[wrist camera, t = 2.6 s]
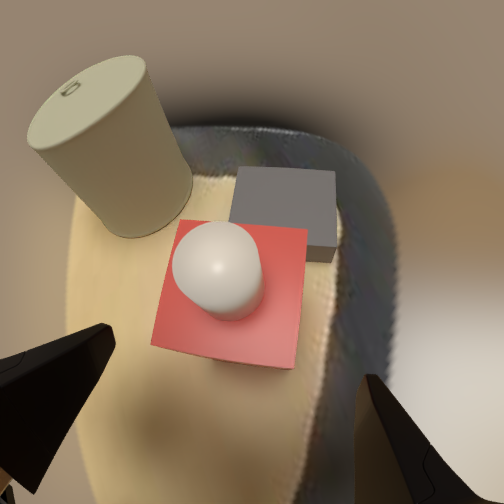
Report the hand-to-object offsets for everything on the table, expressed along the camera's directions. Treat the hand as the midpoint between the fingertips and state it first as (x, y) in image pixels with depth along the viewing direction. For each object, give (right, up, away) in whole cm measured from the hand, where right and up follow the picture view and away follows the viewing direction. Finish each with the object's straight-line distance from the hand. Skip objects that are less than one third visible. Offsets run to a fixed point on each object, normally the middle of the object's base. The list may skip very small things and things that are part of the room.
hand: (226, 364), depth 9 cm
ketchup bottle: (+1, -1, +10) cm, 10 cm away
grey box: (+3, +6, +13) cm, 15 cm away
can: (-9, +9, +16) cm, 20 cm away
